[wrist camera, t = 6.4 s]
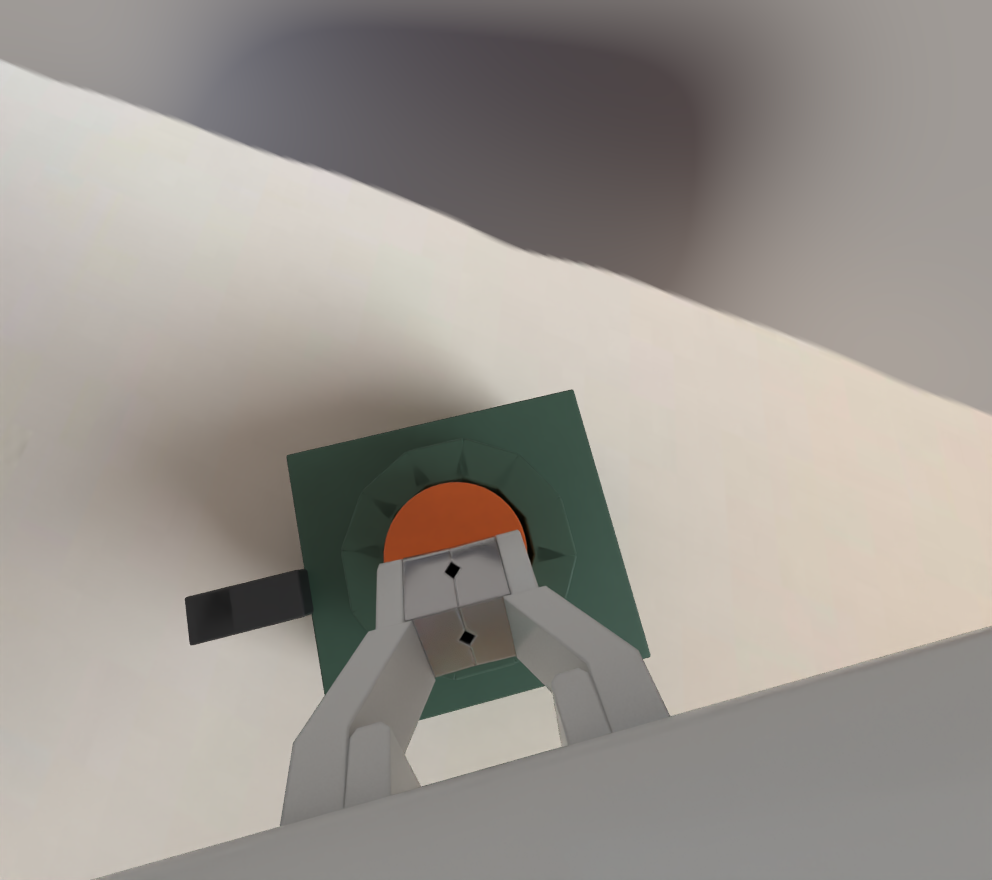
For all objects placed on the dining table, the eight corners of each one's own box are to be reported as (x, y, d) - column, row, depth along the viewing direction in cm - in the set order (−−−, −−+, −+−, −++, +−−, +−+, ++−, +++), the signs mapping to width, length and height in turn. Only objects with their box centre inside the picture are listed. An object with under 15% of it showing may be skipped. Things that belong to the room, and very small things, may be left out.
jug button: (411, 631, 14) (398, 646, 12) (386, 507, 15) (370, 500, 13) (535, 599, 14) (543, 609, 12) (504, 478, 15) (507, 467, 13)
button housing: (384, 677, 23) (308, 774, 13) (349, 485, 24) (259, 442, 15) (595, 621, 23) (675, 672, 14) (546, 438, 25) (584, 368, 15)
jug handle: (279, 616, 21) (188, 646, 15) (274, 583, 21) (183, 598, 15) (359, 596, 21) (305, 616, 15) (353, 563, 22) (297, 569, 15)
